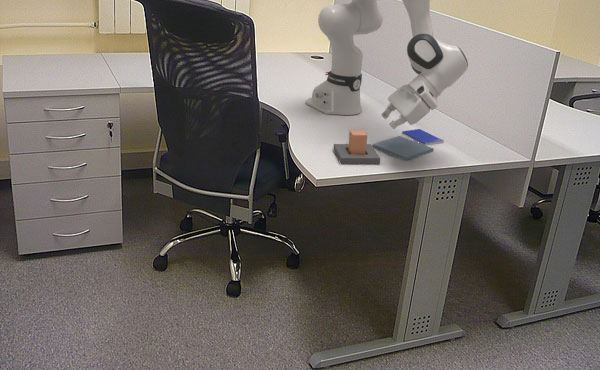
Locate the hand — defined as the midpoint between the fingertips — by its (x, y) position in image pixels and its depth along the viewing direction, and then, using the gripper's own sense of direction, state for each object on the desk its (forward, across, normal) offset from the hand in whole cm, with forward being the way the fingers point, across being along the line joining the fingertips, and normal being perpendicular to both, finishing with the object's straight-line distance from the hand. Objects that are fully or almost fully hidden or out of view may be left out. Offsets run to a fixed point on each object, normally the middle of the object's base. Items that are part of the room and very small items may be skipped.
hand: (386, 121), depth 198 cm
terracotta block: (+14, 0, +2) cm, 14 cm away
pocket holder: (+14, 0, +2) cm, 14 cm away
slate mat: (+2, -7, +14) cm, 16 cm away
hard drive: (-4, -18, +22) cm, 28 cm away
